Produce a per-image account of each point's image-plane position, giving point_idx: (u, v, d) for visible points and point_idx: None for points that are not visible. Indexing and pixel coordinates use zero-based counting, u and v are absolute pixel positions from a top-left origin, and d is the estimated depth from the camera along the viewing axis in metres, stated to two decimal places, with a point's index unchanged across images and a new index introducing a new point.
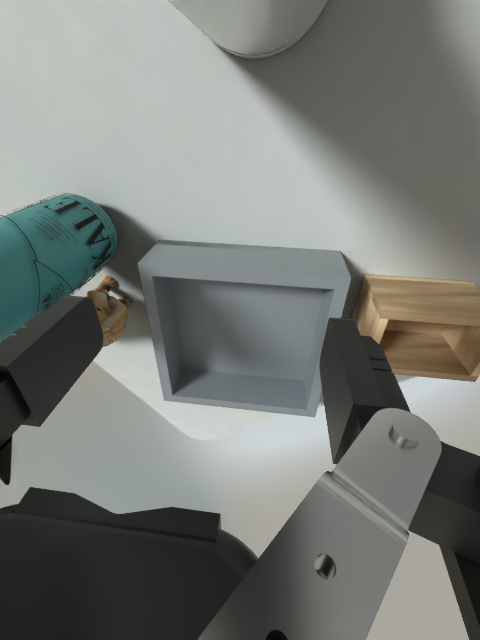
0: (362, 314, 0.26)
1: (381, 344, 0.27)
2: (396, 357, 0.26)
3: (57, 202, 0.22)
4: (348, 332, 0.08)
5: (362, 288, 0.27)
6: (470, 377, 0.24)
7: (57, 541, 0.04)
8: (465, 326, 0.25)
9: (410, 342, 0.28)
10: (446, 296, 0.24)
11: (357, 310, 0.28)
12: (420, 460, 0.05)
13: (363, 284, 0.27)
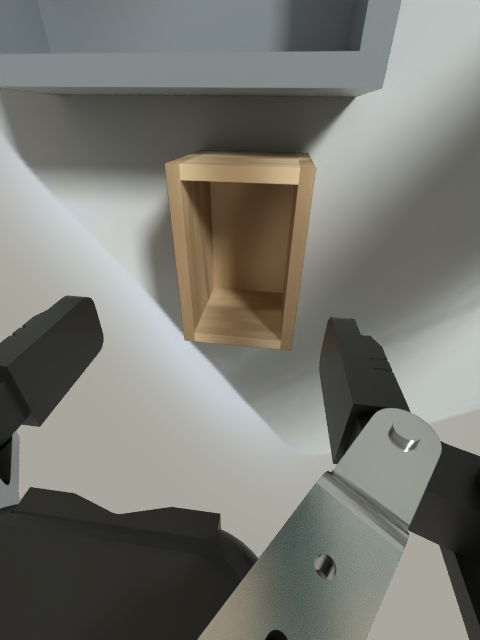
0: (254, 156, 0.15)
1: (201, 203, 0.16)
2: (193, 229, 0.15)
3: None
4: (348, 332, 0.08)
5: (286, 153, 0.16)
6: (191, 333, 0.17)
7: (57, 541, 0.04)
8: (246, 306, 0.19)
9: (206, 249, 0.18)
10: None
11: (246, 153, 0.16)
12: (420, 460, 0.05)
13: (294, 153, 0.16)
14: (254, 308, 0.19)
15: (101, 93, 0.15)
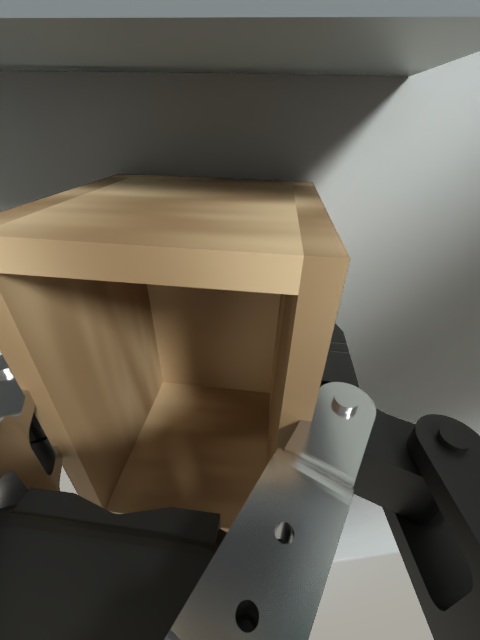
0: (206, 194, 0.07)
1: (107, 280, 0.08)
2: (81, 342, 0.07)
3: None
4: None
5: (272, 183, 0.09)
6: None
7: (57, 541, 0.04)
8: (209, 429, 0.12)
9: (135, 344, 0.10)
10: None
11: (196, 182, 0.08)
12: (354, 424, 0.06)
13: (288, 183, 0.09)
14: (222, 434, 0.11)
15: None
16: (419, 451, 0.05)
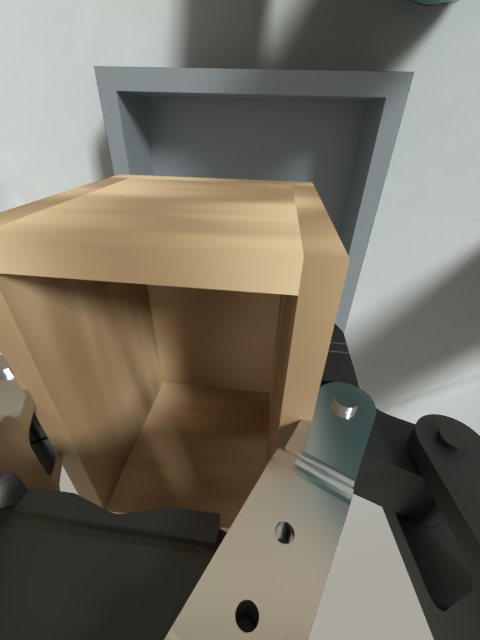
0: (206, 195, 0.07)
1: (107, 280, 0.08)
2: (81, 341, 0.07)
3: None
4: None
5: (272, 183, 0.09)
6: None
7: (57, 541, 0.04)
8: (209, 429, 0.12)
9: (135, 344, 0.10)
10: None
11: (197, 182, 0.08)
12: (354, 424, 0.06)
13: (288, 184, 0.09)
14: (222, 433, 0.11)
15: None
16: (419, 451, 0.05)
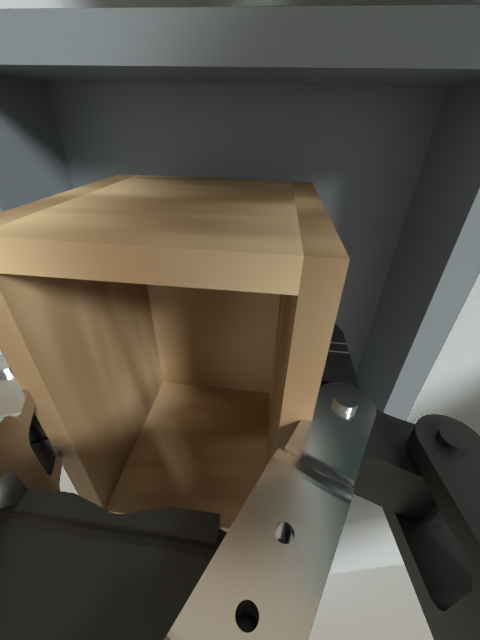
0: (206, 195, 0.07)
1: (107, 280, 0.08)
2: (82, 341, 0.07)
3: None
4: None
5: (272, 183, 0.09)
6: None
7: (57, 541, 0.04)
8: (209, 429, 0.12)
9: (135, 344, 0.10)
10: None
11: (197, 182, 0.08)
12: (354, 424, 0.06)
13: (288, 183, 0.09)
14: (222, 433, 0.11)
15: None
16: (419, 451, 0.05)
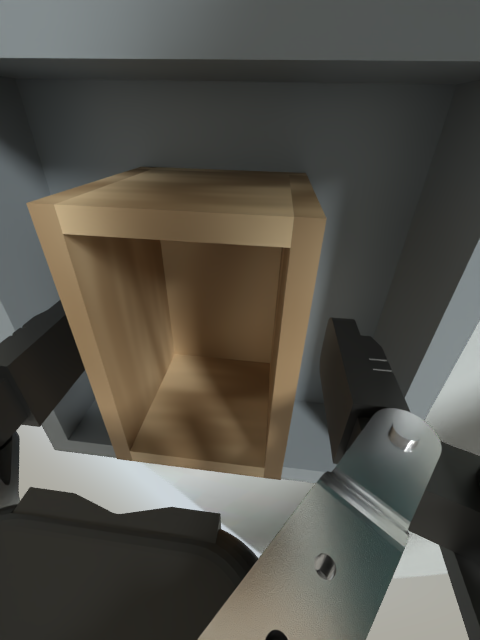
0: (218, 181, 0.09)
1: (135, 254, 0.10)
2: (116, 301, 0.09)
3: None
4: (348, 332, 0.08)
5: (272, 173, 0.10)
6: (125, 451, 0.11)
7: (57, 541, 0.04)
8: (217, 391, 0.13)
9: (153, 314, 0.12)
10: None
11: (209, 173, 0.10)
12: (420, 460, 0.05)
13: (285, 174, 0.10)
14: (228, 394, 0.13)
15: None
16: None
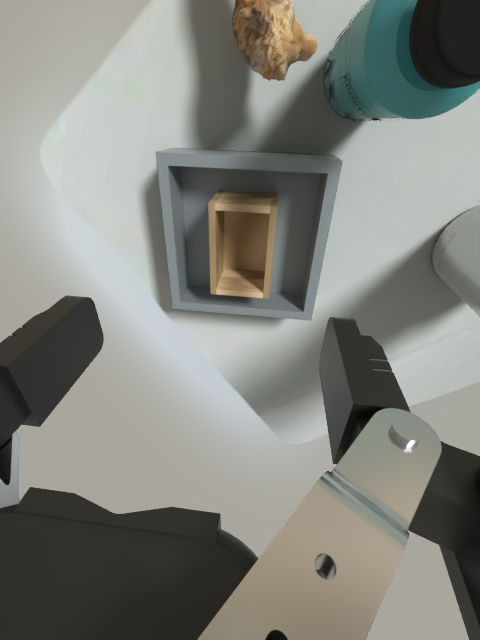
0: (249, 196, 0.29)
1: (220, 219, 0.30)
2: (218, 233, 0.29)
3: None
4: (348, 332, 0.08)
5: (266, 193, 0.30)
6: (214, 289, 0.31)
7: (57, 541, 0.04)
8: (244, 277, 0.33)
9: (221, 244, 0.32)
10: None
11: (244, 192, 0.30)
12: (420, 460, 0.05)
13: (270, 193, 0.30)
14: (248, 278, 0.33)
15: None
16: None
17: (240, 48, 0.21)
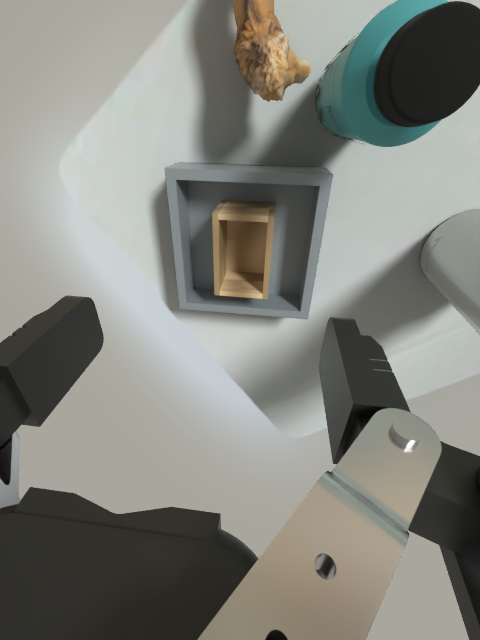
0: (249, 206, 0.32)
1: (223, 227, 0.33)
2: (221, 239, 0.32)
3: None
4: (348, 332, 0.08)
5: (265, 202, 0.33)
6: (218, 291, 0.34)
7: (57, 541, 0.04)
8: (245, 279, 0.36)
9: (224, 249, 0.35)
10: None
11: (245, 202, 0.33)
12: (420, 460, 0.05)
13: (269, 202, 0.33)
14: (249, 280, 0.36)
15: None
16: None
17: (242, 74, 0.24)
